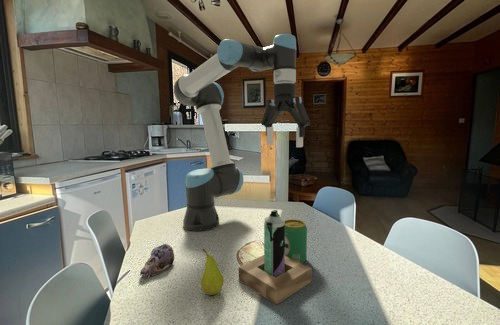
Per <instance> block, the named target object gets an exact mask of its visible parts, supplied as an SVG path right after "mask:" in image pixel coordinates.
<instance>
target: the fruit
mask: <svg viewBox="0 0 500 325" xmlns="http://www.w3.org/2000/svg"><path fill="white" fill-rule="evenodd" d="M202 251H203V252H204V253H205V255H206V257H205V258H206V261H205V263H204V269H203V273H202V275H201V277H200V287H201V289H202V291H203V293H205V294H206V295H209V296H214V295H217V294H218V293H219V292H220V291H221V290H222V288H223V286H224V275H223V273H222V272H221V270H220V268H219V266H218V263H217V261H216V259H215V258H214V256H212V255H211V254H208V253H207V250H206V249H204V248H203V249H202Z"/></svg>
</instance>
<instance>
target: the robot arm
mask: <svg viewBox="0 0 500 325" xmlns="http://www.w3.org/2000/svg"><path fill="white" fill-rule="evenodd" d="M297 50H298V49H297V39H296V36H295V35H293V34H291V33H281V34H277V35H275V36H274V38H273V43H272V45H271V44H270V45H269V46H265V47H261V46H258V45H254V44H249V43H247V42H243V41H239V40H237V39H229V38H225V39H223V40H221V41H220V43H219V45H218V46H217V51H216V53H215V54H214V55H212V56H211V57H210V58H208V59H207V60H206V61H204V62H203V63H202V64H200V65H199V66H198V67H196V68H195V69H193V71H191V72H190V73H188V74H183V75H181V76H180V77H178V78H177V80H176V81H175V82H174V85H173V93H174V96H175V98H176V100H177V101H178V102H179V103H180V104H182V105H184V106H188V107H195V109H196V113H197V114H199V115H200V117H201V120H202V125H203V129H204V134H205V138H206V144H207V148H208V152H209V156H210V159H211V166H210V167H209V168H197V169H194V170H191V171H189V172H188V173H187V174H186V175H185V184H184V186H185V196H186V197H185V199H186V210H185V213H184V217H183V225H182V226H183V228H184V229H186V230H187V231H192V232H204V231H209V230H213V229H215V228H218V226H219V224H220V218H219V217H220V216H219V214H218V212H217V209H216V207H215V206H216V205H215V204H216V203H215V199H216V198H221V197H224V196H229V195H230V196H231V195H233V194H236V193H238V192H240V191H241V189H242V188H243V185H244V174H243V171H242V170H241V169H240V168H238V167H236V164H235V162H234V161H232V160H231V157H230V156H231V155H230V152H229V148H228V144H227V143H228V142H227V139H226V135H225V132H224V126H223V122H222V118H221V115H220V110H221V109H222V105H223V104H224V99H225V94H224V91H223V87H221V85H220V84H218V83H217V82H215V81H217V80H219V79H221V78H222V77H223V76H225V75H227V74H229V73H230V72H233V70H235V69H237V68H240V67H242V68H248V69H249V70H250V71H252V72H255V73H257V72H264V71H267V70H272V69H273V83H274V84H273V96H274V99H269V98H268V99H267V106H266V109H265V112H264V115H263V118H262V120H261V126H264V127H265V136H266V146H273V145H274V126H273V124H274V123H275V121H276V120H277V118H278V116H279V115H280V114H281V113H282V112H283V113H284V112H288V113H289V114H290V115H291V117H292V119H293V120H294V121H295V122H294V123H296V124H297V127H296V133H295V134H296V135H295V136H296V137H295V140H296V142H295V145H296V146H295V148H303V147H304V138H305V136H306V127H308V126H310V125H311V121H310V118H309V115H308V113H307V110H306V108H305V105H304V99H303V97H302V96H296V92H297V90H296V84H295V83H296V82H297V72H296V71H297V68H296V67H297V66H296V64H297V63H296V61H297ZM295 96H296V97H295Z"/></svg>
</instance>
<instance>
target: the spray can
mask: <svg viewBox="0 0 500 325" xmlns="http://www.w3.org/2000/svg"><path fill="white" fill-rule="evenodd" d="M284 221H285V218H284V217H282V216H281V215H280V214H279V211H278V210H277V209H274V210H271V211H270V214H268V216H267V217H265V218H264V221H263V233H264V234H263V236H264V237H263V241H264V242H263V244H264V245H263V248H264V249H263V250H264V252H263V253H264V254H263V255H264V272H266V273H268V274H270V275H272V276H273V277H275V278H276V277H278V276H279V275H281V274H283V273H284V272H285V222H284Z"/></svg>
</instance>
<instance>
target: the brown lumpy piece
mask: <svg viewBox="0 0 500 325" xmlns="http://www.w3.org/2000/svg"><path fill="white" fill-rule="evenodd" d="M149 256H150V257H149V258H148V259H147V261H145V263H144V266H143V267H142V269H141V270H140V273H139V276H143V277H147V279H150V277H155V276H157V275H158V274H160V273H162V272H164V271H165V270H166V269H168V268H170V267H171V266H172V265H173V264H174V262H175V253H174V249H173V247H172V246H171V245H169V244H168V243H163V244H161V245H159V246H156V247H153V249H151V252H150V255H149ZM161 266H164V267H163V268H161Z"/></svg>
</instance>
